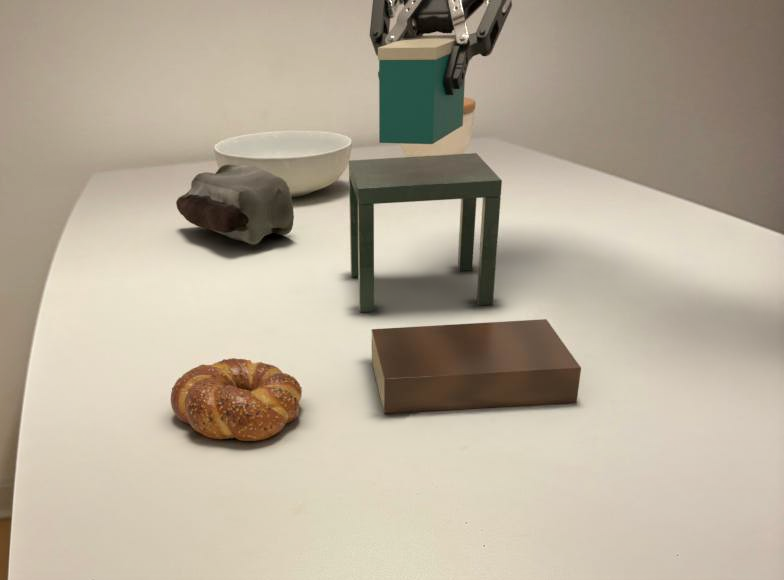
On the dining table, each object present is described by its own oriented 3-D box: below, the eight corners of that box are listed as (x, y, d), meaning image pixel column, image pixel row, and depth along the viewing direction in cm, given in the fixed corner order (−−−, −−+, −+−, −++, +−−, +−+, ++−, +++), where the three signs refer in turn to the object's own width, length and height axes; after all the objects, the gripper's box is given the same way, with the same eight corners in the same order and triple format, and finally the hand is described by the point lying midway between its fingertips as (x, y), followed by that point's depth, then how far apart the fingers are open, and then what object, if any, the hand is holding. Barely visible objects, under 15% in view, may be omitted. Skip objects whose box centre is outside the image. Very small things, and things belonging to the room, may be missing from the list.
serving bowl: (224, 213, 137) (219, 160, 133) (213, 183, 153) (208, 136, 149) (364, 200, 139) (364, 148, 135) (339, 172, 155) (338, 126, 151)
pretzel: (322, 435, 75) (320, 391, 73) (188, 457, 73) (182, 412, 71) (285, 381, 85) (282, 341, 83) (165, 399, 83) (159, 358, 81)
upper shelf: (470, 266, 110) (476, 152, 103) (493, 304, 99) (502, 180, 92) (350, 273, 110) (348, 160, 103) (359, 312, 99) (358, 188, 92)
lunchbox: (411, 124, 100) (413, 35, 95) (464, 125, 98) (468, 34, 93) (377, 143, 93) (377, 47, 88) (433, 144, 91) (436, 46, 86)
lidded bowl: (478, 169, 152) (483, 91, 146) (400, 174, 152) (401, 96, 146) (464, 154, 162) (468, 80, 156) (391, 159, 162) (392, 85, 156)
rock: (166, 230, 130) (159, 167, 125) (238, 216, 135) (233, 155, 130) (227, 259, 117) (221, 191, 113) (304, 243, 122) (302, 177, 117)
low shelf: (543, 351, 88) (546, 318, 86) (576, 402, 78) (581, 367, 76) (371, 361, 88) (371, 329, 86) (384, 413, 78) (384, 379, 76)
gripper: (381, -97, 92) (338, 61, 91) (528, -107, 87) (484, 60, 86) (399, -34, 99) (359, 114, 98) (536, -40, 94) (495, 116, 93)
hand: (417, 88), depth 92 cm, fingers closed on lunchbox, 5 cm apart
